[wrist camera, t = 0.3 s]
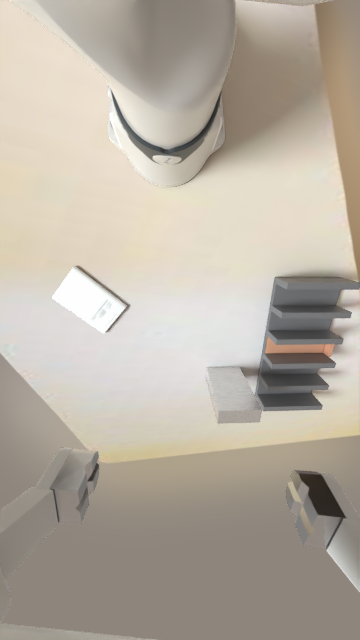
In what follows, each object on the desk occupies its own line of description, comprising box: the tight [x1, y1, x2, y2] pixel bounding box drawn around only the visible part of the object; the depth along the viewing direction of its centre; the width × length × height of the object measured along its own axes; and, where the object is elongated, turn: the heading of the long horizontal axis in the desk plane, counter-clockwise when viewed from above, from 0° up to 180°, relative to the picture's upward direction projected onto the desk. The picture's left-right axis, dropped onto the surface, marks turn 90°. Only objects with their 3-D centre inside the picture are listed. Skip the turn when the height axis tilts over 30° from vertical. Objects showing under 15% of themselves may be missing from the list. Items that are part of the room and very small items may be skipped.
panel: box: [206, 367, 262, 423], centre depth 48 cm, size 3×8×14 cm, turn 89°
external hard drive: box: [52, 266, 127, 334], centre depth 46 cm, size 2×8×12 cm
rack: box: [255, 277, 360, 411], centre depth 49 cm, size 30×15×6 cm, turn 179°
